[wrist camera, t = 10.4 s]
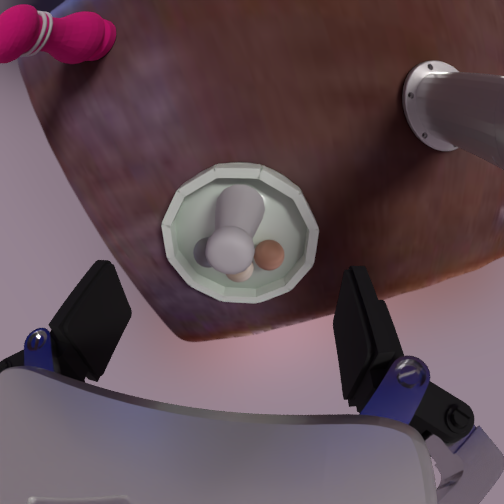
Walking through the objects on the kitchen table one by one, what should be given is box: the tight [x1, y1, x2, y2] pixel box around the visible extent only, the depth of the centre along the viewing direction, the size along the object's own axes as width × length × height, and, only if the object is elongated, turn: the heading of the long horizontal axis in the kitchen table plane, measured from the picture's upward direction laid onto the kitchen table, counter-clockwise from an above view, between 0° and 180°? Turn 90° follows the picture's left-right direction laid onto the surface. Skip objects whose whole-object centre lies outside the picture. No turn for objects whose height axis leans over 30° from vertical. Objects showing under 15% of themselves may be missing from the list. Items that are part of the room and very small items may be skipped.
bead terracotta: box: [254, 240, 285, 271], centre depth 36 cm, size 4×4×4 cm
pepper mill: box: [0, 4, 116, 64], centre depth 14 cm, size 7×7×20 cm
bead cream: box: [226, 262, 254, 282], centre depth 37 cm, size 4×4×4 cm
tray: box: [161, 162, 319, 303], centre depth 36 cm, size 20×20×3 cm
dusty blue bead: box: [193, 237, 212, 268], centre depth 36 cm, size 4×4×4 cm
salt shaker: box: [205, 184, 265, 274], centre depth 29 cm, size 6×6×13 cm
